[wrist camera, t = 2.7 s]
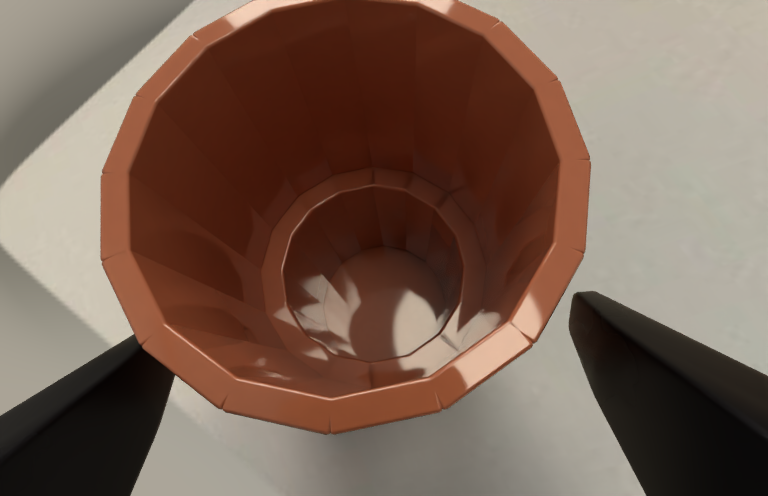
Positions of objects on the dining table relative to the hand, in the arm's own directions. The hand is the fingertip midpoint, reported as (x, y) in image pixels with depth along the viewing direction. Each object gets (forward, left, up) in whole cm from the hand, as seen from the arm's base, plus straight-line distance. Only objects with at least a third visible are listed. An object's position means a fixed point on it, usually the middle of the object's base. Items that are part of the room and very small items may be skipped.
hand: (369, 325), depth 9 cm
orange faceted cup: (+2, +1, -9) cm, 9 cm away
